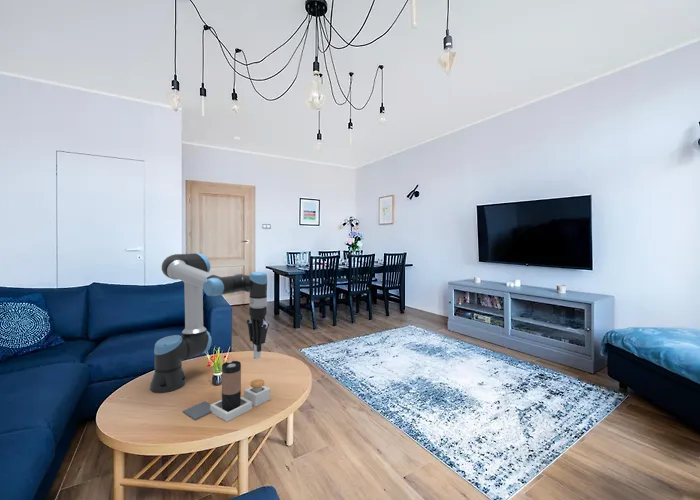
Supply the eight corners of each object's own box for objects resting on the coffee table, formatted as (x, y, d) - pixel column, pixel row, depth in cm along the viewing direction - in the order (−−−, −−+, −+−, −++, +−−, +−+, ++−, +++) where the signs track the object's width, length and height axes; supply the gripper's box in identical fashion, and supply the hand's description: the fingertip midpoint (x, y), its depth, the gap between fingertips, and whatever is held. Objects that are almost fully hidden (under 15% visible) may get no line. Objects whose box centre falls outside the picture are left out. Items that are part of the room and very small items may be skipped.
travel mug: (234, 416, 128) (234, 368, 128) (217, 414, 130) (217, 366, 129) (244, 406, 136) (244, 361, 135) (228, 404, 137) (228, 359, 137)
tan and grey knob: (247, 399, 141) (247, 382, 141) (258, 393, 146) (258, 378, 145) (256, 403, 137) (256, 386, 137) (266, 397, 142) (267, 381, 142)
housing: (244, 401, 141) (244, 390, 140) (258, 393, 147) (258, 383, 147) (255, 406, 136) (255, 395, 136) (269, 399, 143) (270, 388, 142)
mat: (182, 412, 131) (182, 410, 131) (205, 402, 139) (205, 400, 139) (195, 420, 125) (195, 419, 125) (218, 409, 133) (218, 408, 133)
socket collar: (210, 411, 131) (210, 404, 131) (234, 400, 141) (234, 393, 141) (227, 421, 125) (227, 414, 124) (251, 408, 134) (251, 401, 134)
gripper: (241, 305, 141) (241, 356, 142) (260, 310, 133) (259, 364, 134) (255, 303, 147) (254, 352, 148) (274, 307, 139) (273, 359, 140)
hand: (257, 358), depth 141 cm, fingers closed
